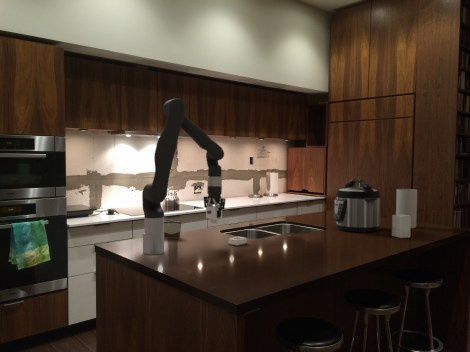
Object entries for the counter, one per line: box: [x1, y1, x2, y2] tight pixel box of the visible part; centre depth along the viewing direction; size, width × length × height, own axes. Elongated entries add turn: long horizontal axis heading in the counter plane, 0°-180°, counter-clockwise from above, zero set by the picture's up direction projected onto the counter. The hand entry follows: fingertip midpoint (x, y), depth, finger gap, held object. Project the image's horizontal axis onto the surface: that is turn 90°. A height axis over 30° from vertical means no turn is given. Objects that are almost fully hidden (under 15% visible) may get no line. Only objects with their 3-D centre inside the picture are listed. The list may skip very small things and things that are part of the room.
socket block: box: [228, 236, 248, 247], centre depth 206 cm, size 8×6×3 cm
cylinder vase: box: [395, 188, 418, 229], centre depth 259 cm, size 12×12×25 cm
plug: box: [205, 205, 223, 224], centre depth 204 cm, size 8×6×8 cm
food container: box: [164, 218, 183, 239], centre depth 224 cm, size 12×6×10 cm, turn 84°
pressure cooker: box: [333, 179, 381, 233], centre depth 250 cm, size 30×28×32 cm
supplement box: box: [391, 214, 412, 239], centre depth 228 cm, size 7×7×13 cm
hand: (214, 216), depth 204 cm, fingers closed on plug, 6 cm apart
